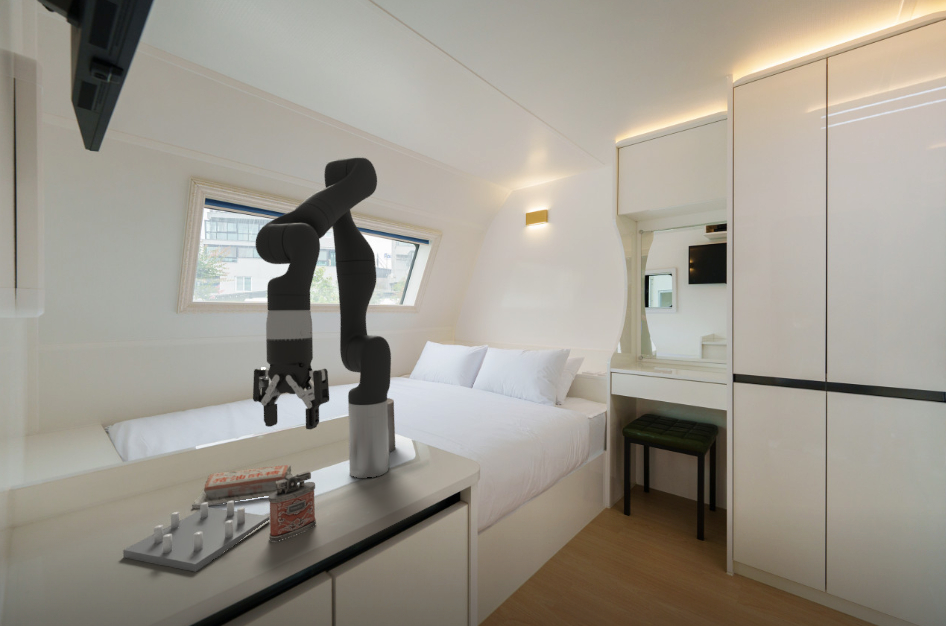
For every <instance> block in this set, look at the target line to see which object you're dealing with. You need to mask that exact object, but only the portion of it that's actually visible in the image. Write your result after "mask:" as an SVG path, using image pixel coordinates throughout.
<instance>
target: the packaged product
mask: <svg viewBox="0 0 946 626" xmlns="http://www.w3.org/2000/svg"><path fill="white" fill-rule="evenodd" d="M291 472H292V466H291V465H289V464H285V465H276V466H275V465H274V466H268V467H257V468H251V469H242V470H232V471H231V470H230V471H224V472H215V473H212V474H209V475H208V477H207V480H206V481H205V484H204V488H203V489H202V490H201V492H200V494H199V495H198V496H197V497H196V499H195V500H194V501H193V504H191V508H195V509H199V508H198V507H200V504H201V503H204V502H208V507H212V506H211V505H213V506H218V505H217V504H223V503H227V502H228V501H234V502H235V501H240V500H246V499H252V498H258V497H264V496H269V495H270V494H272V493H274V492H277V490H276V481H279V480H283V479H285V477H286V476H287V475H292V476H294V475H293V474H292V473H291ZM223 505H224V504H223Z"/></svg>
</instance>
